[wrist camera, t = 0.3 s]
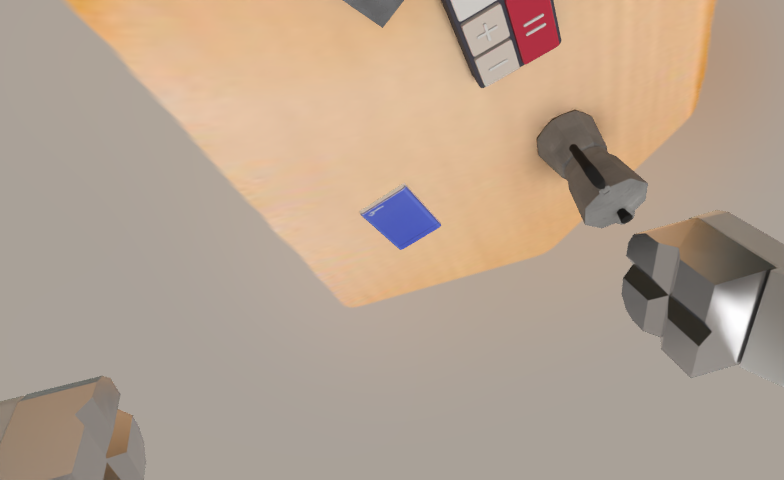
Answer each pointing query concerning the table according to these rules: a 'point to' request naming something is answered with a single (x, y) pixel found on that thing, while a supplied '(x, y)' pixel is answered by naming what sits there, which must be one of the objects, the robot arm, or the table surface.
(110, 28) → the table surface
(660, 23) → the table surface
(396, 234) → the hard drive
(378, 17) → the hole plate
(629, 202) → the coffeepot
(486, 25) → the calculator
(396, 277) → the table surface
